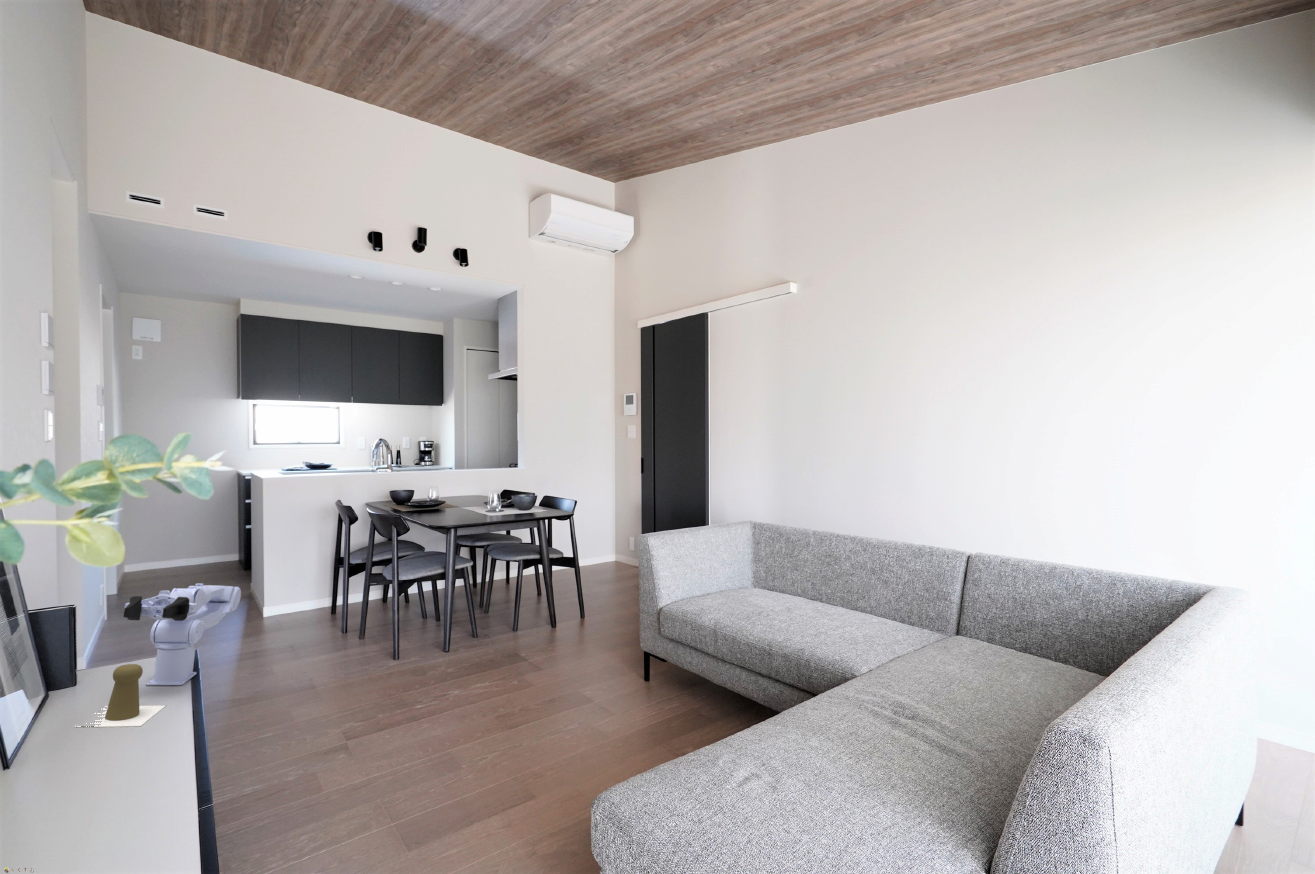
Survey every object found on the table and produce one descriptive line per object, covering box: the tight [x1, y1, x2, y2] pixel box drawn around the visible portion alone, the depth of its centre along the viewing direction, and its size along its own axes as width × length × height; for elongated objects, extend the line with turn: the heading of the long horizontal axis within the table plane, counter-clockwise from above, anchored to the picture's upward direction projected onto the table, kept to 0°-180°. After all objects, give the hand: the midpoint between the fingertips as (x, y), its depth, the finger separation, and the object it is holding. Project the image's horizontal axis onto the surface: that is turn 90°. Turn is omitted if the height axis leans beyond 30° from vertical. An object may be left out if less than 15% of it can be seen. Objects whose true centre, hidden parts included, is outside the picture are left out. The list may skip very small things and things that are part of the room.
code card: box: [74, 705, 166, 728], centre depth 146 cm, size 12×12×1 cm
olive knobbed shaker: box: [105, 663, 144, 721], centre depth 146 cm, size 6×6×11 cm
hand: (145, 612), depth 152 cm, fingers open, 7 cm apart
